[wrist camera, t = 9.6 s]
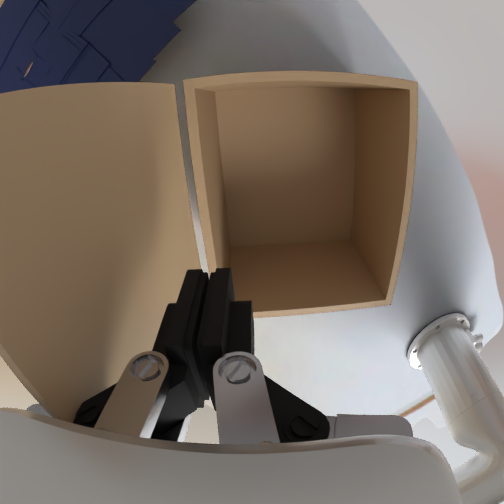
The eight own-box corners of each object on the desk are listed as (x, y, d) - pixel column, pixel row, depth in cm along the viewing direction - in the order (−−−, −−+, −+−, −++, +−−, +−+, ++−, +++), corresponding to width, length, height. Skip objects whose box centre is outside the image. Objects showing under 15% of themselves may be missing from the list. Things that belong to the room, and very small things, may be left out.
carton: (358, 83, 23) (417, 81, 14) (353, 241, 32) (390, 304, 22) (208, 86, 24) (182, 79, 14) (226, 249, 32) (217, 319, 22)
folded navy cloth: (223, 14, 19) (215, 6, 16) (57, 210, 32) (40, 224, 29) (86, -78, 10) (69, -86, 7) (-30, 106, 22) (-47, 113, 19)
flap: (-79, 116, 2) (-88, 128, 2) (168, 502, 10) (157, 500, 10) (174, 83, 14) (164, 85, 14) (211, 321, 22) (204, 321, 22)
